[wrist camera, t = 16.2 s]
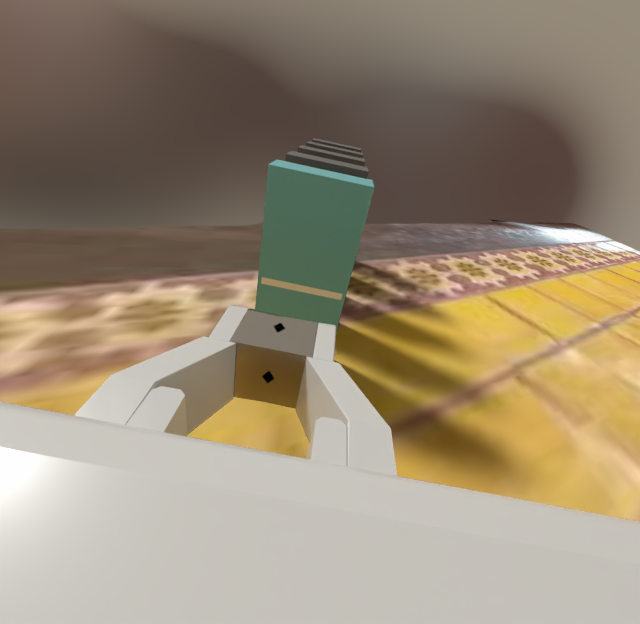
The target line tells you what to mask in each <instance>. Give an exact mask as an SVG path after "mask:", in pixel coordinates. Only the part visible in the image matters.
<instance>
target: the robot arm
mask: <svg viewBox="0 0 640 624" xmlns="http://www.w3.org/2000/svg"><path fill="white" fill-rule="evenodd" d="M335 341H336V326H335V325H331V324H325V323H319V322H318V323H317V322H312V321H306V320H300V319H295V318H289V317H284V316H281V315H277V314H272V313H268V312H263V311H259V310H254V309H249V308H245V307H240V306H235V305H231V306H229V307H228V309H227V310H226V312H225V313H224V315H223V316H222V318H221V319H220V321H219V323H218V324H217V326H216V327H215V329H214V330H213V332H212V333H211V335H210V336H209V337H204V336H203V337H201V338H199V339H196V340H194V341H191V342H189V343H187V344H184V345H182V346H179V347H177V348H175V349H172V350H170V351H167V352H165V353H163V354H160V355H158V356H155V357H153V358H151V359H148V360H146V361H143V362H141V363H139V364H136V365H134V366H131V367H129V368H127V369H124V370H122V371H119V372H117V373H115V374H112V375H111V376H110V377H109V378H108V379H107V380H106V381H105V382H104V384H103V385H102V386H101V387H100V388H99V389H98V390H97V391H96V392H95V393H94V394H93V395H92V396H91V397H90V399H89V400H88V401H87V402H86V403H85V404H84V405H83V406H82V407H81V408H80V409H79V410H78V411H77V412H76V414H75V415H70V414H64V413H59V412H54V411H48V410H43V409H38V408H32V407H27V406H22V405H16V404H11V403H6V402H0V624H640V521H635V520H630V519H624V518H619V517H614V516H608V515H603V514H598V513H592V512H587V511H582V510H576V509H571V508H566V507H560V506H555V505H550V504H544V503H539V502H534V501H528V500H523V499H518V498H512V497H507V496H502V495H496V494H491V493H486V492H480V491H475V490H470V489H464V488H459V487H454V486H448V485H443V484H438V483H432V482H427V481H421V480H416V479H411V478H405V477H400V476H397V472H396V464H395V456H394V449H393V441H392V433H391V428H390V427H389V426H388V424H387V423H386V422H385V421H384V419H383V418H382V417H381V415H380V414H379V413H378V412H377V410H376V409H375V408H374V407H373V405H372V404H371V403H370V401H369V400H368V399H367V398H366V396H365V395H364V394H363V393H362V391H361V390H360V389H359V387H358V386H357V385H356V384H355V382H354V381H353V380H352V379H351V377H350V376H349V375H348V373H347V372H346V371H345V370H344V368H343V367H342V366H341V365H340V363H336V362H334V357H335ZM233 397H238V398H244V399H250V400H256V401H262V402H267V403H272V404H276V405H281V406H286V407H290V408H295V409H296V412H297V415H298V417H299V419H300V422H301V424H302V426H303V429H304V431H305V433H306V436H307V438H308V441H309V443H310V444H309V448H308V452H307V455H306V459H305V458H299V457H294V456H289V455H283V454H278V453H273V452H267V451H262V450H257V449H251V448H246V447H241V446H235V445H230V444H225V443H219V442H214V441H209V440H203V439H198V438H193V437H187V435H188V434H189V433H190V432H191V431H193V430H194V429H195V428H197V427H198V426H199V425H200V424H202V423H203V422H204V421H205V420H207V419H208V418H209V417H211V416H212V415H213V414H214V413H216V412H217V411H218V410H219V409H221V408H222V407H223V406H224V405H226V404H227V403H228V402H230V401H231V400H232V399H233Z"/></svg>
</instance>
